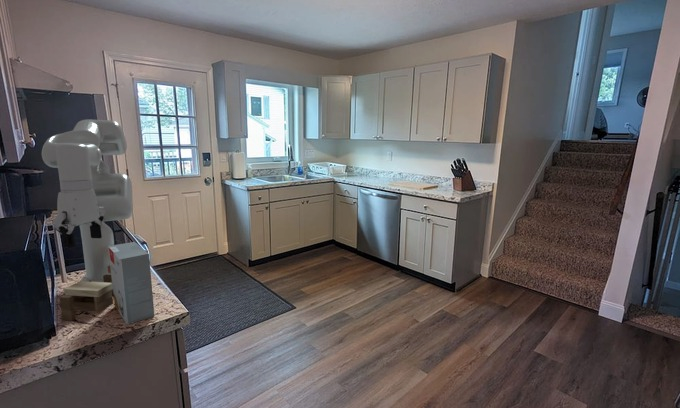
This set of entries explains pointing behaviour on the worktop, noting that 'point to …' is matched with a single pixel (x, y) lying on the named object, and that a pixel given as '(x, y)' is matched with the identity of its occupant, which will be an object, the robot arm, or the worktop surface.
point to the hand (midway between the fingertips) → (83, 242)
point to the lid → (88, 289)
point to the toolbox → (85, 302)
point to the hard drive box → (131, 281)
